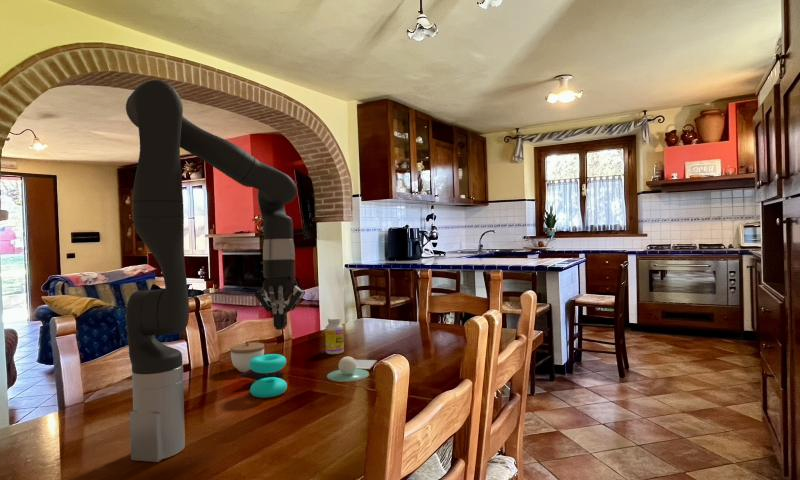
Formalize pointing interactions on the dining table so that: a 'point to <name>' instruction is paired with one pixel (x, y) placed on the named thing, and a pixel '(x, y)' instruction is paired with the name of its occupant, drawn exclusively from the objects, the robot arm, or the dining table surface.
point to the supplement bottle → (334, 336)
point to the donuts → (271, 384)
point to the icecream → (261, 375)
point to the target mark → (348, 376)
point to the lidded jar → (245, 354)
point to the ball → (347, 365)
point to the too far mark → (364, 364)
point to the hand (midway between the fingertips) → (280, 329)
